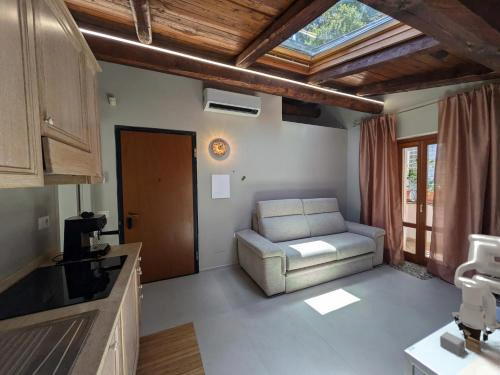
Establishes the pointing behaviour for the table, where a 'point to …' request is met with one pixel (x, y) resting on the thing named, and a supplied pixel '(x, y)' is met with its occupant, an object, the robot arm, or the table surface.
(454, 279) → the robot arm
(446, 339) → the stoneware box
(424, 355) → the table surface
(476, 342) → the walnut block
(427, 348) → the table surface
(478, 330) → the coffee mug
